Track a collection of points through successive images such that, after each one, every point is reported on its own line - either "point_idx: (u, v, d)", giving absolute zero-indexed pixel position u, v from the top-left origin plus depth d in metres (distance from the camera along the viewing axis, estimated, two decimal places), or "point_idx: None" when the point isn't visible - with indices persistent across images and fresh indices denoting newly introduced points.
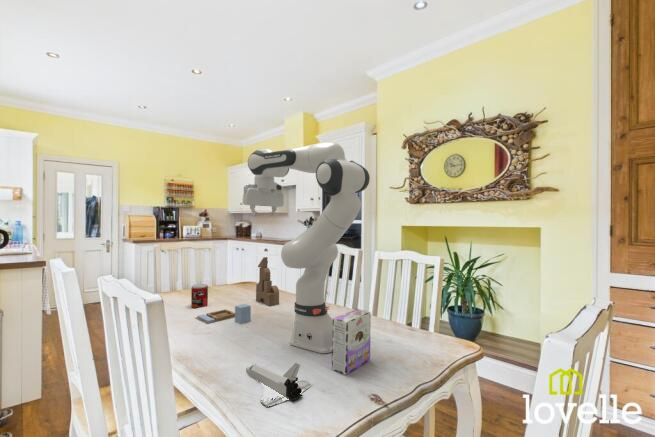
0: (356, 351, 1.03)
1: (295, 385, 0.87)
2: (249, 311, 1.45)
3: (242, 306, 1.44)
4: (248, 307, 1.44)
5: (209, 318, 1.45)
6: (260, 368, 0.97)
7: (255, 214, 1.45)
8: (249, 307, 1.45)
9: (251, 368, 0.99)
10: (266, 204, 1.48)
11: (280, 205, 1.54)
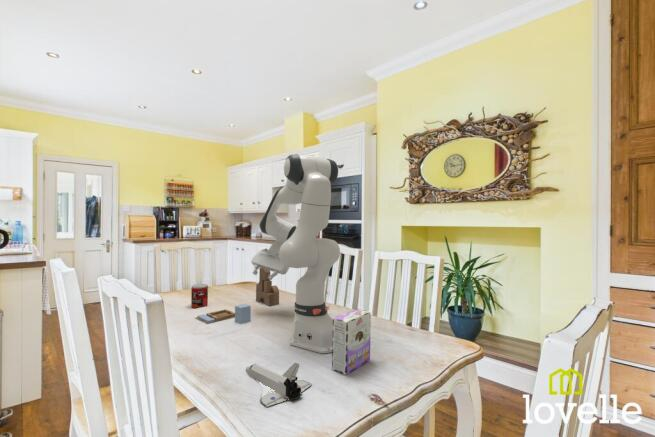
0: (356, 351, 1.03)
1: (295, 385, 0.87)
2: (249, 311, 1.45)
3: (242, 306, 1.44)
4: (248, 307, 1.44)
5: (209, 318, 1.45)
6: (259, 368, 0.97)
7: (253, 271, 1.56)
8: (249, 307, 1.45)
9: (251, 368, 0.99)
10: (266, 265, 1.55)
11: (279, 269, 1.51)
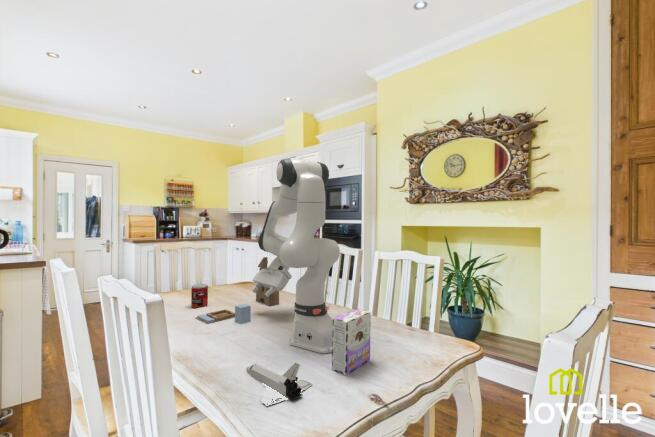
0: (356, 351, 1.03)
1: (295, 385, 0.87)
2: (249, 311, 1.45)
3: (242, 306, 1.44)
4: (248, 307, 1.44)
5: (209, 318, 1.45)
6: (260, 368, 0.97)
7: (253, 289, 1.54)
8: (249, 307, 1.45)
9: (251, 368, 0.99)
10: (264, 282, 1.53)
11: (275, 285, 1.47)
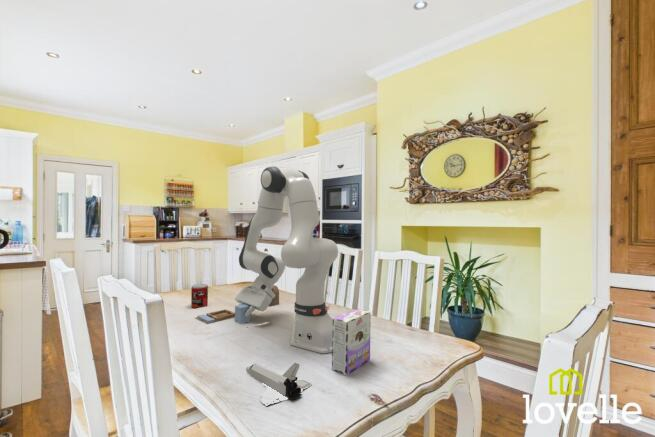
0: (356, 351, 1.03)
1: (294, 385, 0.88)
2: None
3: (242, 306, 1.44)
4: (248, 307, 1.44)
5: (209, 318, 1.45)
6: (260, 368, 0.97)
7: None
8: (249, 307, 1.45)
9: (251, 367, 0.99)
10: (246, 301, 1.46)
11: (257, 305, 1.40)
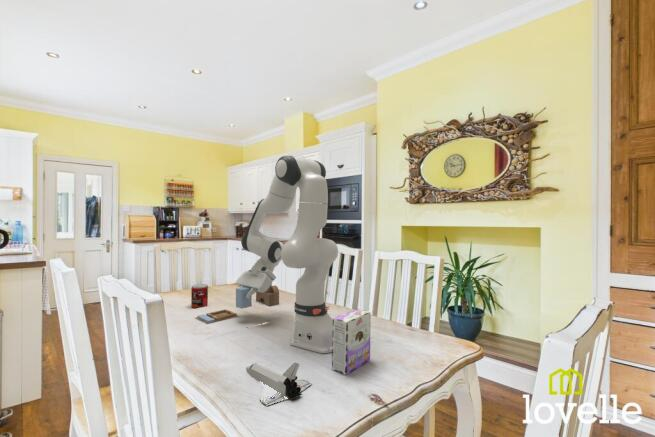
0: (356, 351, 1.03)
1: (294, 384, 0.88)
2: None
3: (243, 288, 1.43)
4: (249, 289, 1.44)
5: (209, 318, 1.45)
6: (260, 367, 0.97)
7: None
8: None
9: (251, 367, 0.99)
10: (247, 284, 1.45)
11: (257, 286, 1.40)
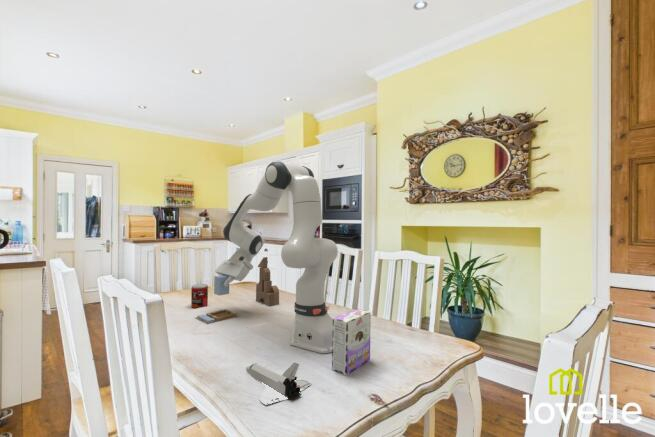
0: (356, 351, 1.03)
1: (294, 384, 0.88)
2: None
3: (221, 276, 1.50)
4: (227, 277, 1.51)
5: (209, 318, 1.45)
6: (259, 367, 0.97)
7: None
8: None
9: (251, 367, 0.99)
10: (225, 272, 1.53)
11: (235, 275, 1.47)
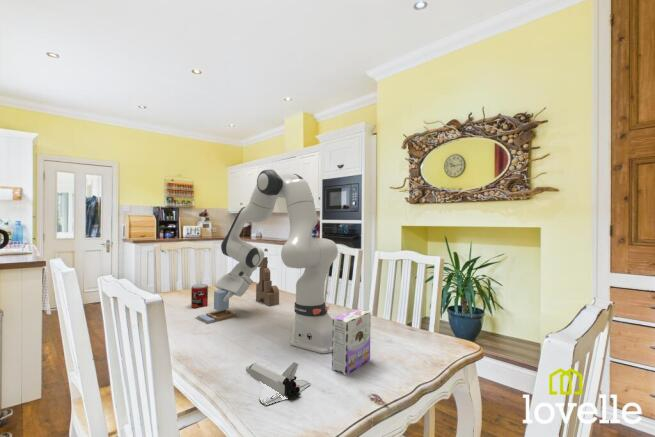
0: (356, 351, 1.03)
1: (293, 384, 0.88)
2: None
3: (221, 291, 1.51)
4: (226, 292, 1.51)
5: (209, 318, 1.45)
6: (259, 367, 0.97)
7: None
8: (227, 292, 1.51)
9: (251, 367, 0.99)
10: (225, 287, 1.53)
11: (234, 291, 1.47)
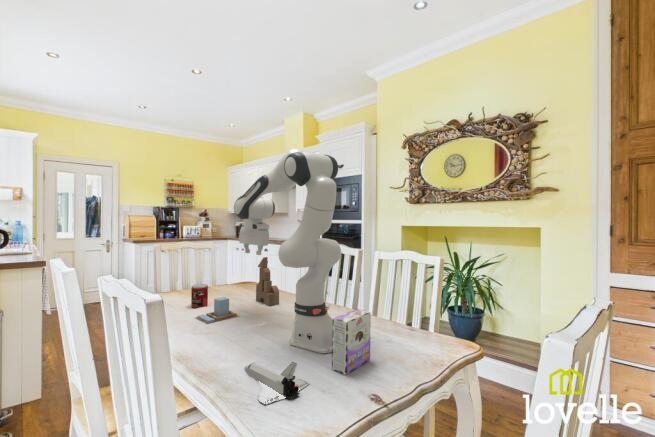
0: (356, 351, 1.03)
1: (292, 383, 0.88)
2: (228, 304, 1.51)
3: (221, 299, 1.50)
4: (227, 300, 1.51)
5: (209, 318, 1.45)
6: (258, 367, 0.98)
7: (245, 251, 1.61)
8: (228, 300, 1.51)
9: (249, 367, 1.00)
10: (250, 243, 1.57)
11: (260, 244, 1.52)
